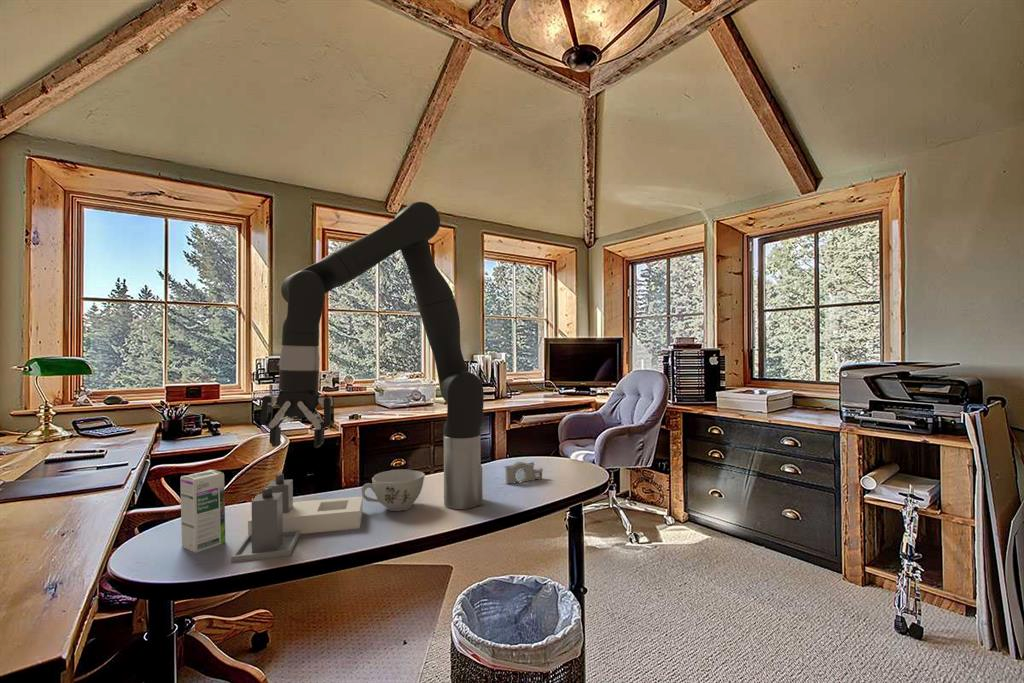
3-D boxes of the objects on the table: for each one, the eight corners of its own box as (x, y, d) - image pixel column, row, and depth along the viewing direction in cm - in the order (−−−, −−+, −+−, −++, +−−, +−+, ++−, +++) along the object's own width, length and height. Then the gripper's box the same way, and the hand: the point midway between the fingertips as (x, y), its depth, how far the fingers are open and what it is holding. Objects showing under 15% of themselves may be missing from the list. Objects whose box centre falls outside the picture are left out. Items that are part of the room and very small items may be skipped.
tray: (299, 536, 100) (299, 530, 100) (289, 556, 90) (289, 550, 90) (247, 541, 97) (247, 535, 97) (231, 563, 88) (231, 556, 88)
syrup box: (195, 554, 91) (194, 479, 91) (180, 547, 94) (179, 474, 94) (225, 543, 96) (225, 472, 96) (211, 537, 99) (210, 468, 99)
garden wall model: (540, 477, 141) (540, 458, 141) (543, 479, 139) (543, 459, 139) (504, 483, 136) (504, 462, 136) (506, 485, 134) (506, 464, 134)
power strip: (362, 513, 113) (362, 463, 113) (359, 529, 103) (359, 475, 103) (261, 522, 107) (260, 470, 107) (248, 540, 98) (247, 483, 98)
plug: (282, 541, 96) (282, 484, 96) (277, 550, 92) (277, 491, 92) (258, 543, 95) (257, 486, 95) (251, 553, 91) (251, 493, 91)
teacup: (418, 496, 125) (418, 466, 125) (430, 511, 113) (430, 478, 113) (358, 504, 119) (358, 472, 119) (364, 521, 107) (364, 486, 107)
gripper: (340, 368, 102) (337, 444, 101) (274, 366, 102) (271, 442, 101) (327, 369, 94) (324, 451, 94) (255, 367, 94) (252, 449, 94)
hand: (296, 446), depth 98 cm, fingers open, 8 cm apart
